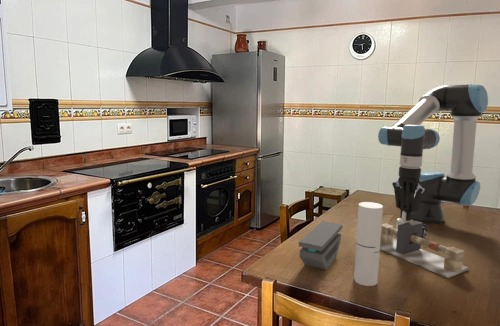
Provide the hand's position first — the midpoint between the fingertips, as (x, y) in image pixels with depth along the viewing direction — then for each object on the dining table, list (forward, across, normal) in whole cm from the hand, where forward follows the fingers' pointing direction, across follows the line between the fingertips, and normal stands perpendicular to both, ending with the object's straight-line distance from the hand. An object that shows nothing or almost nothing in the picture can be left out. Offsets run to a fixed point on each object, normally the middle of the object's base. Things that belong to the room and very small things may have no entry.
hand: (404, 227), depth 141 cm
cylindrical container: (+10, +10, -31) cm, 34 cm away
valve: (+10, -10, +17) cm, 22 cm away
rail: (+10, +6, 0) cm, 11 cm away
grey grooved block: (+10, -8, -34) cm, 36 cm away
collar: (+8, +2, 0) cm, 9 cm away
